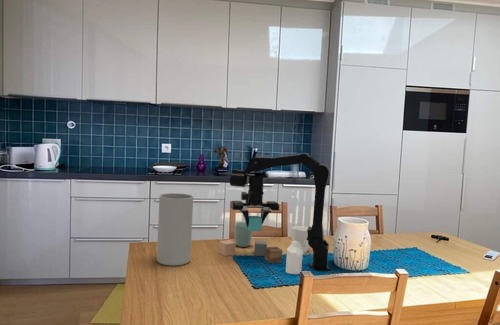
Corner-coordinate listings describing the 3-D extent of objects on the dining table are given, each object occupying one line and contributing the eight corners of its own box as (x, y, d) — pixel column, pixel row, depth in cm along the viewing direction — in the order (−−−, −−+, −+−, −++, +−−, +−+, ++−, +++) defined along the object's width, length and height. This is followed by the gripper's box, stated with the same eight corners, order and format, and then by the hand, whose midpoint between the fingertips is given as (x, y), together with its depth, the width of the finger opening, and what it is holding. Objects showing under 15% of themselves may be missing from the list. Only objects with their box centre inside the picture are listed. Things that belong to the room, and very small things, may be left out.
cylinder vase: (183, 268, 144) (186, 200, 142) (151, 264, 146) (153, 197, 145) (194, 258, 156) (197, 195, 154) (165, 254, 159) (167, 192, 157)
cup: (252, 244, 180) (253, 222, 180) (250, 249, 173) (251, 226, 172) (235, 242, 181) (236, 221, 180) (232, 247, 173) (233, 225, 173)
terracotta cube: (235, 255, 163) (235, 243, 163) (224, 256, 161) (225, 244, 160) (229, 251, 168) (229, 240, 167) (218, 253, 165) (219, 241, 164)
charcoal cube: (266, 256, 164) (266, 244, 163) (254, 255, 164) (254, 243, 164) (266, 252, 169) (266, 241, 168) (254, 252, 169) (255, 240, 169)
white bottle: (300, 237, 149) (306, 242, 144) (298, 269, 150) (304, 274, 145) (285, 238, 148) (290, 242, 142) (283, 269, 148) (288, 274, 143)
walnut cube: (281, 262, 157) (282, 250, 157) (270, 263, 155) (271, 251, 155) (275, 258, 162) (276, 246, 161) (264, 259, 160) (265, 247, 159)
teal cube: (261, 231, 157) (262, 218, 156) (248, 231, 156) (249, 218, 155) (258, 227, 162) (258, 215, 161) (246, 227, 160) (246, 215, 160)
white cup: (309, 253, 171) (311, 230, 170) (291, 252, 171) (292, 229, 170) (307, 248, 178) (309, 226, 178) (290, 247, 179) (291, 225, 178)
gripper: (272, 185, 167) (270, 222, 168) (229, 184, 163) (227, 222, 164) (280, 189, 156) (278, 228, 158) (234, 188, 152) (232, 228, 153)
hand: (253, 226), depth 158 cm, fingers closed on teal cube, 5 cm apart
